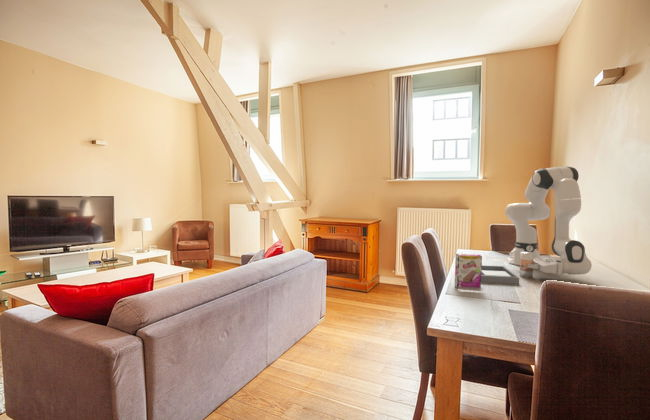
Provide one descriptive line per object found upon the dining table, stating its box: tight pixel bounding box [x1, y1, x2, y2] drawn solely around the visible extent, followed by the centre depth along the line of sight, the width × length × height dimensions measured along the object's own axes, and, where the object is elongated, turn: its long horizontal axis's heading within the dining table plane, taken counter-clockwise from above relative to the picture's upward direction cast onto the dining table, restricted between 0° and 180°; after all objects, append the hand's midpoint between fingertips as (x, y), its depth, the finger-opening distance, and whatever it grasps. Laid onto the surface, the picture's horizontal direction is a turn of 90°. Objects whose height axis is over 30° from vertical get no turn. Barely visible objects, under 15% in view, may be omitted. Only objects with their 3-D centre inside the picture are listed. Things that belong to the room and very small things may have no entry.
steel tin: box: [519, 251, 534, 279], centre depth 177 cm, size 6×6×14 cm
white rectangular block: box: [481, 270, 511, 277], centre depth 172 cm, size 10×12×4 cm
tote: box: [481, 265, 520, 286], centre depth 177 cm, size 24×18×4 cm
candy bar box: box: [454, 253, 483, 289], centre depth 161 cm, size 11×5×16 cm, turn 84°
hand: (524, 264), depth 178 cm, fingers closed on steel tin, 6 cm apart
